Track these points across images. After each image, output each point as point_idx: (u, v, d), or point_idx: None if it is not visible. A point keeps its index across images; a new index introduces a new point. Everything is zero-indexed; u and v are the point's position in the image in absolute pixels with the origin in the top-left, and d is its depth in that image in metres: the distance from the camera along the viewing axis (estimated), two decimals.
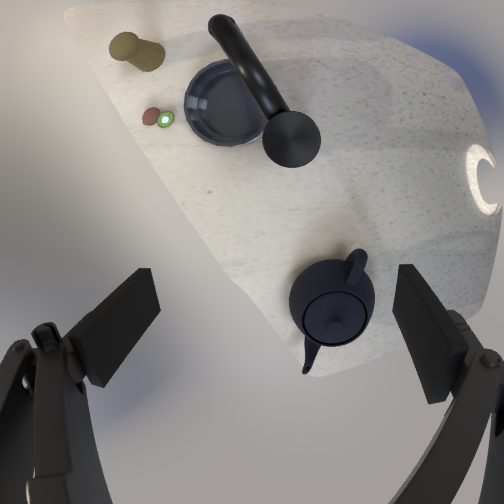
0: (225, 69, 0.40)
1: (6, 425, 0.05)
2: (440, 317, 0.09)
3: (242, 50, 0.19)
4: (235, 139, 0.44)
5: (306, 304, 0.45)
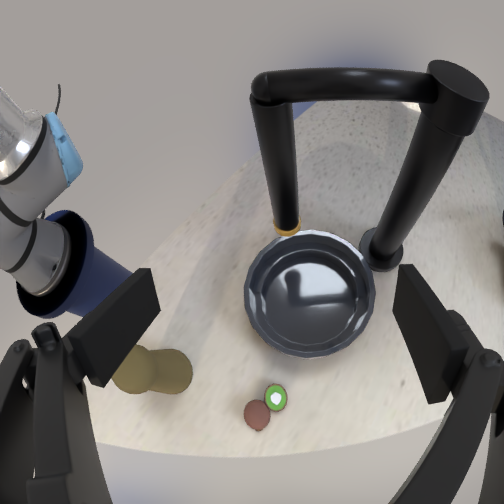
0: (259, 282, 0.34)
1: (6, 425, 0.05)
2: (440, 317, 0.09)
3: (334, 68, 0.13)
4: (360, 311, 0.31)
5: None
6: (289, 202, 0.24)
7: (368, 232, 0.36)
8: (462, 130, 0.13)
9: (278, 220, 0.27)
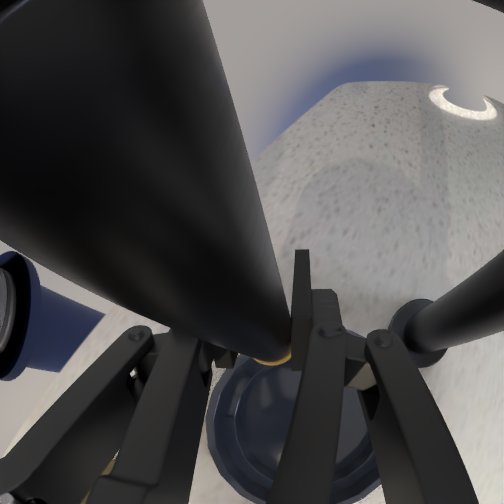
0: (233, 401, 0.20)
1: (87, 425, 0.06)
2: (299, 291, 0.12)
3: None
4: None
5: None
6: (267, 354, 0.09)
7: (403, 309, 0.22)
8: None
9: None
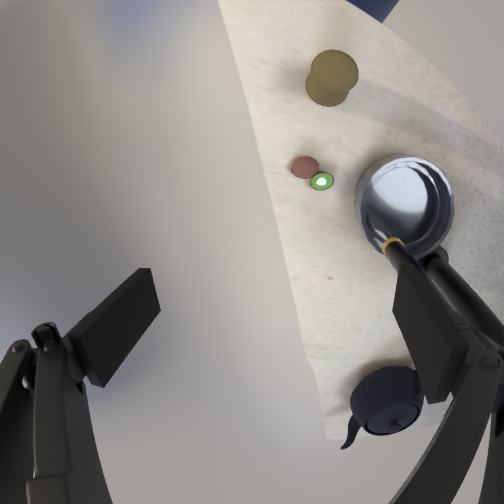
0: (415, 165, 0.34)
1: (6, 425, 0.05)
2: (440, 317, 0.09)
3: None
4: None
5: (380, 407, 0.42)
6: None
7: (445, 253, 0.39)
8: None
9: (389, 259, 0.30)
